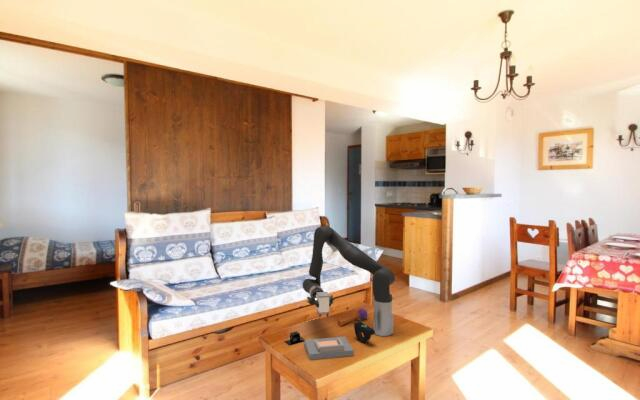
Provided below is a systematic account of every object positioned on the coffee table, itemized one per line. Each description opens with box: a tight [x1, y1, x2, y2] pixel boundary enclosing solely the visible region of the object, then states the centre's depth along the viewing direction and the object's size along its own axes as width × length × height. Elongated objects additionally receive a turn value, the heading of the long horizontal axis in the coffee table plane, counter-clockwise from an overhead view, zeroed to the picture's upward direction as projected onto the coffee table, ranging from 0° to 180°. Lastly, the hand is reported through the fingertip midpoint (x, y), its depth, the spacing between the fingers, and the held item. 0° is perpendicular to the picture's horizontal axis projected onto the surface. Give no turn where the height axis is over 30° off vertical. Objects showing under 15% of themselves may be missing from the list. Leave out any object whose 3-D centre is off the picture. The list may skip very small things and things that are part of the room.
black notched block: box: [283, 331, 306, 346], centre depth 165 cm, size 12×7×5 cm, turn 123°
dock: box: [304, 336, 355, 361], centre depth 156 cm, size 20×14×5 cm
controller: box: [353, 319, 375, 343], centre depth 164 cm, size 4×12×10 cm, turn 35°
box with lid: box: [316, 291, 331, 318], centre depth 168 cm, size 5×6×11 cm
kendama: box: [337, 308, 368, 327], centre depth 189 cm, size 6×6×20 cm
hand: (324, 305), depth 165 cm, fingers closed on box with lid, 5 cm apart
